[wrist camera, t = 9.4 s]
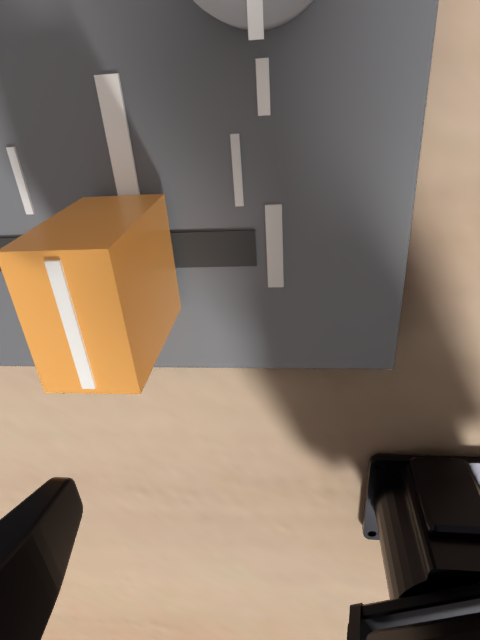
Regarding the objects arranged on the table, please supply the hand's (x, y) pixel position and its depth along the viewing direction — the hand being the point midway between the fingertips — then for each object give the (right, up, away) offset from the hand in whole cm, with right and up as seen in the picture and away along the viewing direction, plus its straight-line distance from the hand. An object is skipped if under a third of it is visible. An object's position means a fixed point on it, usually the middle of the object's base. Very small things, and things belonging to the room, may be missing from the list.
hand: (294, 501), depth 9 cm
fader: (-5, +6, +8) cm, 11 cm away
